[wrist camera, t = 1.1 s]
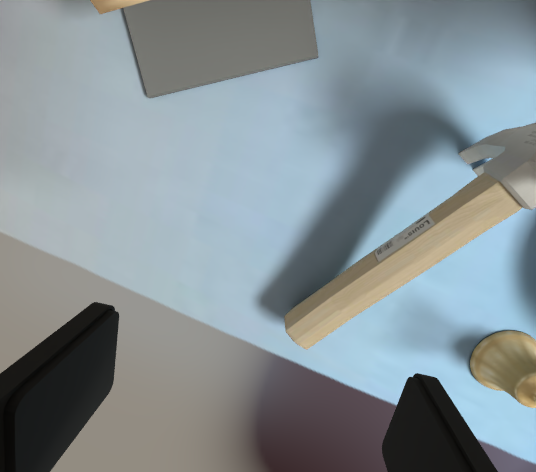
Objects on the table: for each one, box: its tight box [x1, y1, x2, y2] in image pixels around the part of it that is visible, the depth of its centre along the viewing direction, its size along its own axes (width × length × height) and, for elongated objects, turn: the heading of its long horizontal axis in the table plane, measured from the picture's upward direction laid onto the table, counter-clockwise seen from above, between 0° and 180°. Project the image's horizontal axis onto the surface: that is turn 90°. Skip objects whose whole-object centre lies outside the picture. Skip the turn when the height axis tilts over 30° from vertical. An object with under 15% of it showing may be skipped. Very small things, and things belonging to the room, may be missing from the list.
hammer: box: [284, 123, 536, 350], centre depth 31 cm, size 16×5×30 cm
